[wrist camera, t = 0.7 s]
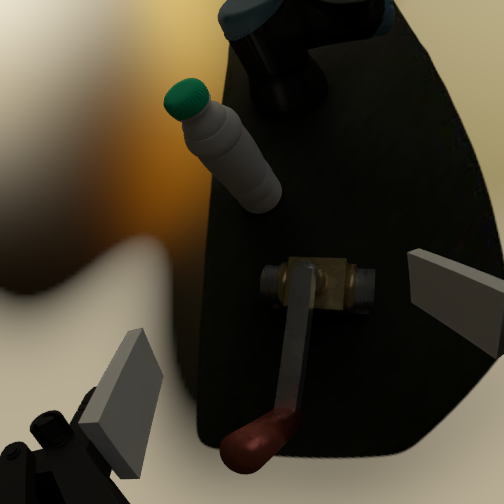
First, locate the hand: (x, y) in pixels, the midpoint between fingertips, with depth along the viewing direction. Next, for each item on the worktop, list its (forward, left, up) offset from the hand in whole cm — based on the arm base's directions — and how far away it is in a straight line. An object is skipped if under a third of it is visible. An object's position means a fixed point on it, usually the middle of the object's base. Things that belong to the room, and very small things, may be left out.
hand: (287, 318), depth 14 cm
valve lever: (+2, -3, -19) cm, 19 cm away
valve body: (-6, -3, -29) cm, 30 cm away
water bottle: (-21, -14, -29) cm, 39 cm away
